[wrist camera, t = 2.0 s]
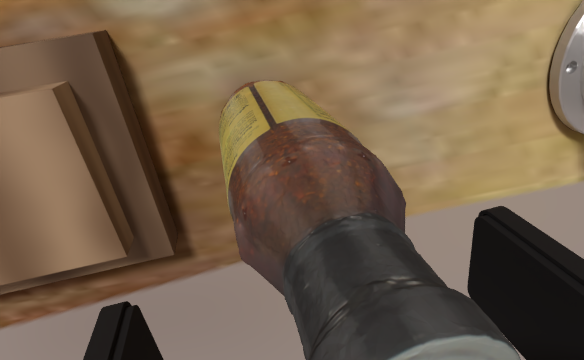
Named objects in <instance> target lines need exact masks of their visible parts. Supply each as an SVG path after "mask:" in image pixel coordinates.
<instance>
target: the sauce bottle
mask: <svg viewBox="0 0 584 360" xmlns="http://www.w3.org/2000/svg"><path fill="white" fill-rule="evenodd" d="M219 141H220V148H221V155H222V162H223V170H224V176H225V183H226V191H227V200H228V206H229V210H230V214H231V217H232V219H233V221H234V230H235V233H236V240H237V243H238V247H239V254H240V256H241V259H242V260H243V261H244V262H245V263H246V264H248V265H250V266H251V267H253V268H254V269H255V270H256V271H257V272H258V273H259V274H261V275H262V276H263V277H264V278H265V279H266V280H267V281H269V283H270V284H272V285H273V286H274V287H275V288H276V289H277V290H278V291H279V292H280V293H281V294H283V295H284V296H285V300H286V302H287V305H288V307H289V310H290V312H291V314H293V316H294V319H295V322H296V325H297V328H298V332H299V335H300V338H301V342H302V345H303V351H304V355H305V359H306V360H520V357H519V354H518V353H517V351H516V350H515V348H514V347H513V346H512V344H511V343H510V342H509V341H508V340H507V339H506V338H505V336H504V335H503V334H502V333H501V331H500V330H499V329H498V327H497V326H496V325H495V324H494V323H493V321H492V320H491V319H490V318H489V317H488V316H487V315H486V314H485V313H484V312H483V311H482V310H481V308H480V307H479V306H478V305H477V304H476V303H475V302H474V300H472V299H471V298H469V297H467V296H465V295H464V294H462V293H460V292H458V291H456V290H454V289H450V288H448V287H447V286H446V284H445V283H444V282H443V281H442V280H441V279H440V278H439V277H438V276H437V274H436V273H435V272H434V271H433V270H432V268H431V267H430V266H429V265H428V264H427V263H426V262H425V260H424V259H423V258H422V257H421V255H420V254H418V253H417V251H416V250H415V248H414V245H413V243H412V242H411V240H410V239H409V238H408V236H407V235H406V234H405V207H406V202H405V199H404V197H403V194H402V191H401V189H400V188H399V187H398V185H397V184H396V182H395V181H394V179H393V178H392V176H391V175H390V173H389V172H388V170H387V168H386V167H385V166H384V164H383V163H382V162H381V160H379V159H378V158H377V157H376V155H374V154H373V153H371V152H370V151H369V150H368V149H367V148H365V147H364V146H363V145H362V144H361V143H360V141H359V140H358V139H357V138H356V137H355V136H354V135H353V134H352V133H351V132H350V131H349V130H347V129H346V128H345V127H344V126H342V125H341V124H340V123H339V122H338V121H336V120H335V119H334V118H333V117H332V116H330V115H329V114H328V113H327V112H326V111H324V110H323V109H322V108H321V107H319V106H318V105H317V104H316V103H314V102H313V101H312V100H310V99H309V98H308V97H307V96H305V95H304V94H303V93H302V92H300V91H299V90H298V89H296V88H295V87H293V86H291V85H288V84H286V83H284V82H282V81H271V80H263V81H256V82H250V83H247V84H245V85H243V86H242V87H240V88H239V89H238V90H236V91H235V92H234V94H233V95H231V97H230V99H229V100H228V102H227V103H226V105H225V107H224V108H223V110H222V112H221V116H220V124H219Z"/></svg>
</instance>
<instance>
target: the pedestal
mask: <svg viewBox="0 0 584 360" xmlns="http://www.w3.org/2000/svg"><path fill="white" fill-rule="evenodd" d="M177 236H178V233H177V230H176V227H175V224H174V221H173V219H172V216H171V213H170V210H169V207H168V204H167V202H166V199H165V196H164V193H163V190H162V187H161V185H160V182H159V179H158V176H157V173H156V170H155V168H154V165H153V162H152V159H151V156H150V153H149V151H148V148H147V145H146V142H145V139H144V136H143V134H142V131H141V128H140V125H139V122H138V119H137V117H136V114H135V111H134V108H133V105H132V102H131V100H130V97H129V94H128V91H127V88H126V85H125V83H124V80H123V77H122V74H121V71H120V68H119V66H118V63H117V60H116V57H115V54H114V51H113V49H112V46H111V43H110V40H109V37H108V34H107V32H106V30H104V31H98V32H91V33H85V34H79V35H73V36H67V37H61V38H55V39H49V40H42V41H36V42H30V43H24V44H18V45H12V46H6V47H0V295H1V294H5V293H9V292H14V291H18V290H22V289H27V288H31V287H36V286H40V285H44V284H49V283H53V282H57V281H62V280H66V279H70V278H75V277H79V276H84V275H88V274H92V273H97V272H101V271H105V270H110V269H114V268H119V267H123V266H127V265H132V264H136V263H140V262H145V261H149V260H153V259H158V258H162V257H167V256H171V255H174V254H175V248H176V242H177Z"/></svg>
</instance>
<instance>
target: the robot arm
mask: <svg viewBox="0 0 584 360" xmlns="http://www.w3.org/2000/svg"><path fill="white" fill-rule="evenodd" d="M549 89H550V97H551V102H552V105H553V108H554V110H555V113H556V115H557V116H558V117H559V119H560V120H561V121H562V123H564V124H565V125H566V126H568V127H569V128H570V129H572V130H575V131H577V132H580V133H582V134H584V0H583V1H582V3H581V4H580V5H579V7H578V8H577V10H576V11H575V13H574V14H573V15H572V17H571V18H570V20H569V22H568V24H567V26H566V28H565V29H564V31H563V33H562V35H561V37H560V40H559V42H558V45H557V48H556V50H555V53H554V57H553V61H552V66H551V70H550V84H549ZM468 293H469V295H470V297H471V299H472V300H474V302H475V303H476V304H477V305H478V306H479V307H480V308H481V310H482V311H483V312H484V313H485V314H486V315H487V316H488V317H489V318H490V319H491V320H492V321H493V323H494V324H495V325H496V326H497V327H498V329H499V330H500V331H501V332H502V334H503V335H504V336H505V337H506V338H507V339H508V340H509V341H510V342H511V344H512V345H513V346H514V347H515V348H516V349H517V350H518V351H519V352H520V353H521V355H522V356H523V357H524V358H525V359H526V360H584V259H583V258H581V257H579V256H578V255H577V254H575V253H574V252H572V251H570V250H569V249H568V248H566V247H565V246H563V245H562V244H560V243H558V242H557V241H556V240H554V239H553V238H551V237H550V236H548V235H547V234H545V233H544V232H542V231H541V230H539V229H538V228H536V227H535V226H533V225H532V224H530V223H529V222H527V221H526V220H524V219H523V218H521V217H520V216H518V215H517V214H515V213H514V212H512V211H511V210H509V209H508V208H506V207H504V206H498V207H494V208H491V209H487V210H483V211H481V212H480V213H479V216H478V217H477V218H476V219H475V222H474V231H473V240H472V250H471V259H470V268H469V278H468ZM83 360H163V358H162V355H161V353H160V351H159V349H158V347H157V345H156V343H155V340H154V338H153V336H152V334H151V332H150V330H149V328H148V325H147V323H146V321H145V319H144V317H143V315H142V313H141V310H140V308H139V307H138V306H137V305H134V306H131V304H130V303H129V302H127V301H126V302H122V303H118V304H114V305H110V306H106V307H103V308H102V309H101V311H100V313H99V316H98V319H97V322H96V325H95V328H94V331H93V333H92V336H91V339H90V342H89V345H88V347H87V350H86V353H85V356H84V359H83Z"/></svg>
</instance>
